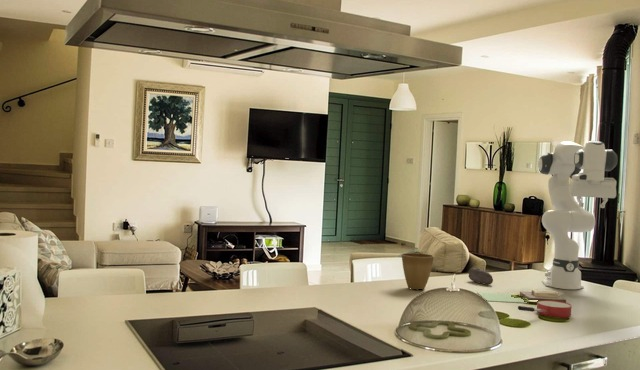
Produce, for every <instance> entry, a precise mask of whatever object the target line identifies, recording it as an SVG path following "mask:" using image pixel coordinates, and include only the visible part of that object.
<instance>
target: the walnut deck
mask: <svg viewBox="0 0 640 370" xmlns="http://www.w3.org/2000/svg"><path fill="white" fill-rule="evenodd" d="M531 293H532V291H519V296H520V295H521V296H523V297H525V298H527V299H528V300H538V301H541V300H551V301H559V302H564V303H567V299H565V298H564V297H562V296H560V295H559V297H558V298H556V297H536V296H534V295H533V294H531Z"/></svg>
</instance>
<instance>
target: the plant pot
mask: <svg viewBox="0 0 640 370" xmlns="http://www.w3.org/2000/svg"><path fill="white" fill-rule="evenodd" d="M434 259H435V255H431V254H429V253H419V252H416V253H415V252H406V253H401V262H402V269H403V273H404V275H403V276H404V279H405V282H406V285H407V289H409V288H411V289H424V290H425V289H426V286H427V284H428V282H429V278H430V276H431V271H432V267H433V263H434ZM411 289H410V290H411Z"/></svg>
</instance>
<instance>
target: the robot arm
mask: <svg viewBox="0 0 640 370" xmlns="http://www.w3.org/2000/svg"><path fill="white" fill-rule="evenodd" d="M553 151H554V152H551V153H550V151H548V152H547V153H545V154H543V155H541V157H539V159H538V162H537V169H538V171H539V172H540V173H541V174H543V175H546V176H547V175H551V176H550V178H549V179H548V186H547V187H548V193H549V197H550V201H551V204H552V208H554V209H550V210H546V211H545V212H544V213H543V214H542V217H541V223H542V226H543V228H544V229H545V230H547V231H548V232H549V234H550V235H551V236H552V238H553V241H554V242H553V243H554V258H553V259H552V266H551V267H550V268H549V269H548V271H545V273H544V274H545V275H544V277H545V278H546V279H544V278H543V279H542V280H541V282H542V283H543V284H544V286H545V287H551V288H556V289H563V290H581V289H584V285H582V272H581V270H580V269H579V265H580V263H579V261H580V260H579V249H580V246H579V244H578V242H576V241H575V240H574V239H572V238H570V237H569V233H586V232H591V231H592V230H593V229H594V228H595V226H596V218H595V216H594V214H593V213H592V212H590V211H588V210H587V209H585V208H583V207H584V202H582V198H583V197H584V198H602V203H600V204H599V208H600V209H605V207H606V203H607V202H608V201H609V199H615V198H616V197H617V180H616V179H615V178H614V177H605V172H611V171H612V170H614V168H616V166H617V165H618V154H617V153H616V152H615V151H614V150H613V149H606V146H605V143H604V142H603V141H598V140H588V141H586V143H585V145H581V144H579V143H577V142H574V141H571V140H570V141H569V140H566V141H565V140H563V141H560V142H559V143H557V144H556V146H554V150H553ZM581 171H582V172H581ZM570 179H572V180H571V181H570ZM575 197H576V199H575ZM576 200H577V201H576Z"/></svg>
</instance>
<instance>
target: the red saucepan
mask: <svg viewBox="0 0 640 370" xmlns="http://www.w3.org/2000/svg"><path fill="white" fill-rule="evenodd" d="M572 308H573V307H572V305H571V304H570V303H567V302H566V303H564V302H559V301H551V300H541V301H537V303H536V308H534V307H533V306H532V307H531V306H524V305H519V306H517V310H519V311H525V312H536V313H537V314H538V315H540V314H541V316H543V315H546V316H545V317H547V316H551V317H550V318H553V317H561V318H560V319H568V318H571V316H572Z"/></svg>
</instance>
